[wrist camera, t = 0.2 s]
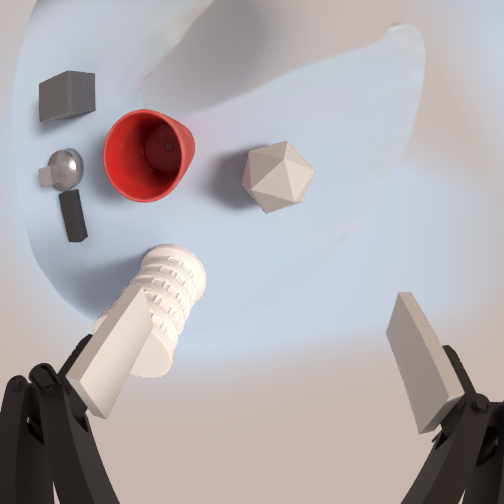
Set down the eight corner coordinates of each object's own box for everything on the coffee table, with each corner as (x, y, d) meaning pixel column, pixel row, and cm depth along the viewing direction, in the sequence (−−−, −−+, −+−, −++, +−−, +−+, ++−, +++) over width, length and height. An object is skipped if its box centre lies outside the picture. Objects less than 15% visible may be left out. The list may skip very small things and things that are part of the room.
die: (237, 188, 40) (262, 237, 34) (229, 138, 33) (258, 184, 27) (289, 172, 41) (321, 216, 36) (289, 123, 34) (328, 163, 29)
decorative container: (155, 304, 50) (115, 376, 34) (134, 248, 45) (75, 312, 29) (214, 300, 48) (186, 382, 32) (196, 239, 43) (151, 310, 27)
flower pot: (209, 110, 34) (187, 108, 26) (203, 186, 39) (182, 206, 31) (139, 111, 35) (103, 112, 26) (137, 181, 40) (104, 200, 31)
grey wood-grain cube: (66, 84, 33) (39, 83, 26) (94, 73, 32) (67, 70, 26) (67, 118, 35) (39, 122, 29) (95, 110, 35) (68, 112, 29)
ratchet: (54, 151, 38) (29, 159, 32) (81, 145, 38) (56, 151, 32) (69, 236, 45) (49, 251, 40) (96, 236, 45) (76, 252, 39)
